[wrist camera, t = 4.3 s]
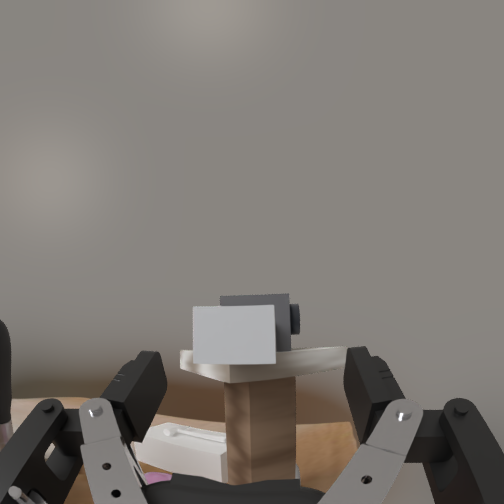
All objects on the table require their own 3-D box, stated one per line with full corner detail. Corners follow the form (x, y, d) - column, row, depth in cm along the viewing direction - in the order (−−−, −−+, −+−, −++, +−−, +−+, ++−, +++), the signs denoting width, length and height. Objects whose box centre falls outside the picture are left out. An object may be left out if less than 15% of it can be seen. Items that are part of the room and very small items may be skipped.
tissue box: (170, 447, 68) (167, 415, 71) (249, 464, 58) (248, 428, 62) (136, 460, 55) (132, 423, 58) (222, 487, 46) (219, 445, 49)
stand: (199, 563, 19) (180, 349, 29) (275, 542, 25) (274, 348, 35) (243, 612, 10) (229, 355, 19) (330, 576, 15) (347, 346, 25)
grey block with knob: (329, 360, 11) (322, 245, 13) (160, 361, 12) (163, 253, 13) (297, 348, 30) (295, 303, 32) (229, 350, 31) (229, 305, 32)
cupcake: (199, 520, 31) (194, 477, 34) (159, 537, 25) (149, 491, 28) (166, 502, 36) (161, 461, 39) (128, 513, 30) (119, 469, 33)
